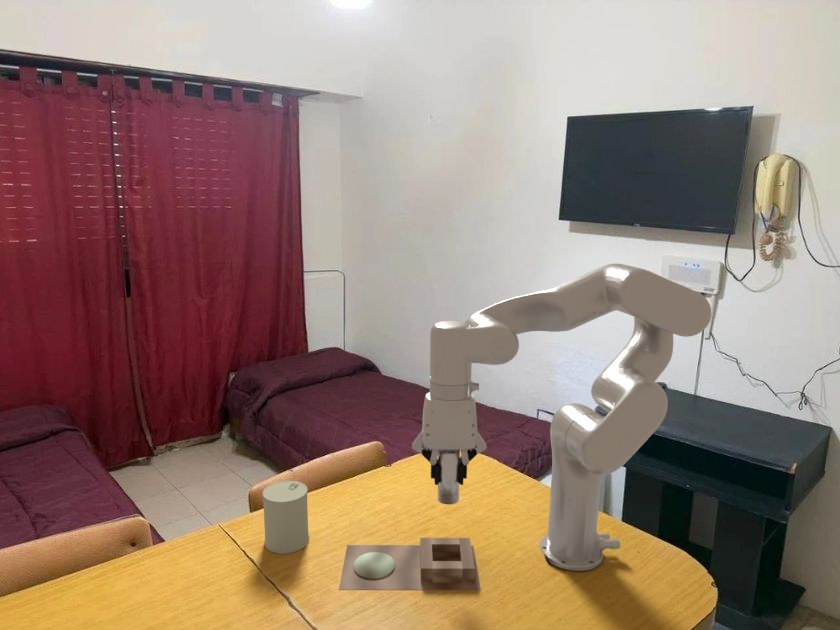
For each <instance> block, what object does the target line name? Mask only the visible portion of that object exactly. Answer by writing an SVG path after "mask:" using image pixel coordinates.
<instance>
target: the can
mask: <svg viewBox="0 0 840 630" xmlns="http://www.w3.org/2000/svg"><path fill="white" fill-rule="evenodd" d="M261 495H262V501H263V503H262V504H263V518H264V520H263V521H264V522H263V523H264V547H265V549H267V550H268V551H269V552H271V553H274V554H281V555H282V554H283V555H284V554H291V553H296V552H298V551H300V550H302V549H303V548H305V547H306V546H307V545H308V544H309V541H310V535H309V518H308V517H309V516H308V515H309V514H308V513H309V511H308V486H307V485H306V484H304V483H303V482H300V481H297V480H281V481H277V482H274V483H271V484H269V485H268V486H266V487H265V488H264V489H263V491H262V494H261Z"/></svg>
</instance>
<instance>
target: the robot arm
mask: <svg viewBox="0 0 840 630" xmlns="http://www.w3.org/2000/svg"><path fill="white" fill-rule="evenodd" d="M709 302H710V301H708V299H707V298H706V297H705V296H704V295H703V294H702V293H700V292H698V291H696V290H694V289H691V288H688V287H686V286H684V285H681V284H679V283H677V282H675V281H672V280H669V279H668V278H666V277H663V276H661V275H659V274H657V273H655V272H653V271H650V270H646V269H645V268H644V269H643V268H641V267H636V266H633V265H632V266H631V265H627V264H625V263H624V264H623V263H609V264H605V265H602V266H600V267H598V268H596V269H593V270H591V271H589V272H586V273H583V274H582V275H579V276H577V277H575V278H573V279H571V280H568V281H565V282H563V283H561V284H559V285H556V286H554V287H552V288H548V289H544V290H540V291H536V292H533V293H529V294H525V295H523V294H522V295H520V296H515V297H512V298H509V299H505V300H503V301H502V300H501V301H499V302H498V303H494V304H492V305H489V306H488V307H485V308H482V309H481V310H479V311H476V312H475V313H473V314H472V315H471V316H469V317H467V319H466V320H465V322H462V321H458V320H445V321H444V320H443V321H437V322H436V323H434V324H433V325H432V327H431V329H430V335H429V336H430V339H429V340H430V343H429V345H430V347H429V349H430V350H429V392H427V393H426V394H425V396H424V402H423V408H422V423H421V431H420V432H419V434H418V435H417V436H416V437H415V439H414V441H412V444H411V449H412V450H413V451H415V452H417V453H419V454H421V455H422V456H423V457H424V458H425V459H426V460H427V461H428V462H429V464H430V479H434V485H435V486H438V484H439V463H438V452H439V450H460V464H459V486H463V485H464V479H467V478H468V465H469V463H470V462H471V461H472V460H473V459H474V458H475V457H476V456H477V455H479V454H480V453H482V452H483V451H485V450H486V449H487V448H488V447H487V443H486V441H485V440H484V438H483V437H482V436H481V433H479V431H478V419H477V418H478V417H477V406H476V399H475V394H474V393H473V392H476V391H479V390H480V384H479V382H474V381H473V380H472V364H481V365H491V366H495V365H496V366H498V365H504V364H507V363H509V362H511V361H512V360H513V359H514V358H515V357H516V355H517V354H518V351H519V349H520V342H519V339H518V335H520V334H525V333H529V332H551V333H552V332H553V333H554V332H555V333H557V332H558V333H559V332H569V331H571V330H574V329H577V328H579V327H580V326H583V325H585V324H587V323H589V322H591V321H594V320H596V319H598V318H600V317H603V316H605V315H607V314H609V313H612V312H615V311H618V312H621V313H623V314H627V315H628V316H629V315H630V316H632V317H633V318H634V319H633V320H634V321H633V322H634V326H633V332H632V334H631V337H630V338H629V341H628V342H627V343H626V344H625V346H624V347H623V348H622V350H621V351H619V352H618V354H617V355H616V356H615V357H614V358H613V359H612V360H611V361H610V362H609V364H608V365H607V366H606V367H605V368H604V369H603V370H602V371H601V373H599V375H598V376H597V377H596V379H595V380H594V381H593V383H592V385H591V390H590V393H591V398H592V399H593V401H594V402H595V404H597V406H599V407H600V408H601V409H602V410H604V411H605V412H607V413H606V415H605V417H604V416H602V415H601V414H599V412H596V411H595V410H593V409H592V408H590V407H588V406H586V405H584V404H581V403H576V402H575V403H568V404H564V405H563V406H561V407H560V408H558V409H557V411H556V412H554V415H553V417H552V420H551V422H550V428H549V432H550V433H549V434H550V435H549V436H550V445H551V456H552V457H551V458H552V463H551V464H552V466H551V483H550V496H549V497H550V498H549V499H550V500H549V515H548V516H549V517H548V531H547V534H546V535H544V536H543V537H542V538H541V539H540V541H539V549H540V552H541V553H542V554H543V556H544V559H545V560H546V561H547V562H549V564H551V565H553V566H555V567H558V568H560V569H564V570H567V571H574V572H584V571H585V572H586V571H590V570H593V569H596V568H597V567H598V566H599V565H601V564H602V561H603V560H604V559H603V557H604V551H605V549H607V550H608V549H609V550H620V549H621V542H620V539H619V538H611V536H610V533H598V518H599V509H600V508H599V506H600V492H601V484H602V476H605V475H611V474H613V473H615V472H616V471H618V470H619V469H621V468H622V467H623V466H624V465H625V464H626V463H627V462H628V461H629V460H630V459H631V458H632V457H633V456H634V455H635V454H636V453H637V452H638V451H639V449H640V448H641V447H642V446H643V445H644V444H645V443H646V442H647V441H648V440H649V438H650V437H652V435H653V434H654V433H655V432H656V431H657V429H658V428H659V427H660V426H661V424H662V423H663V421H664V420H665V418H666V414H667V411H668V406H669V405H668V404H669V400H668V395H667V393H666V392H665V390H664V388H663V387H662V386H661V385H660V384H659V383H657V382H656V381H657V380H658V378H659V377H660V376H661V374H662V373H663V372H664V371H665V370H666V368H667V367H668V365H669V363H670V361H671V360H672V357H673V353H674V352H673V351H674V335H676V336H680V337H687V338H689V337H694V336H696V335H698V334H701V333H702V332H703V331H704V330H705V329H706V328H707V327H708V326H709V324H710V322H711V318H712V308H711V307H712V306H711V304H710V303H709Z"/></svg>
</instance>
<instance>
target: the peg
mask: <svg viewBox="0 0 840 630" xmlns="http://www.w3.org/2000/svg"><path fill="white" fill-rule="evenodd" d="M460 457H461V451H460V450H439V452H438V457H437V458H438V463H439V484H438V485H437V501H438V502H439V503H440V504H443V505H454V504H457V503H458V502H459V501H460V484H459V464H460Z"/></svg>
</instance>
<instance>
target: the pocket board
mask: <svg viewBox="0 0 840 630" xmlns="http://www.w3.org/2000/svg"><path fill="white" fill-rule="evenodd" d="M475 554H476V553H475V548H474V545H472V544H471V538H470V537H419V545H418V544H416V545H415V544H413V545H412V544H411V545H410V544H406V545H405V544H403V545H402V544H401V545H400V544H399V545H397V544H396V545H395V544H394V545H393V544H388V545H387V544H383V545H382V544H377V545H376V544H347V545H346V549H345V555H344V559H343V560H344V561H343V566H342V572H341V577H340V582H339V587H338V588H339V589H338V590H339V591H347V590H348V591H354V590H355V591H481V585H480V578H479V572H478V566H477V561H476V555H475Z"/></svg>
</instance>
